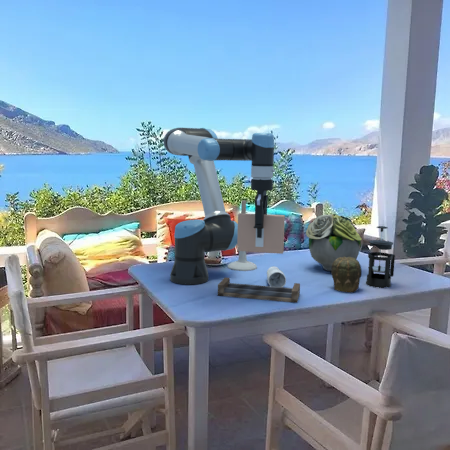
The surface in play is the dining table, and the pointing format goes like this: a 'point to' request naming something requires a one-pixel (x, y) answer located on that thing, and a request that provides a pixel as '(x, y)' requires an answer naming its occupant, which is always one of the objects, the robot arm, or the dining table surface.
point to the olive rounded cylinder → (346, 274)
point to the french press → (376, 278)
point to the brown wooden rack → (258, 291)
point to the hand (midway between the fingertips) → (260, 245)
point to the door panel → (271, 233)
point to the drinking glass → (276, 277)
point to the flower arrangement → (332, 239)
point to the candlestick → (242, 254)
